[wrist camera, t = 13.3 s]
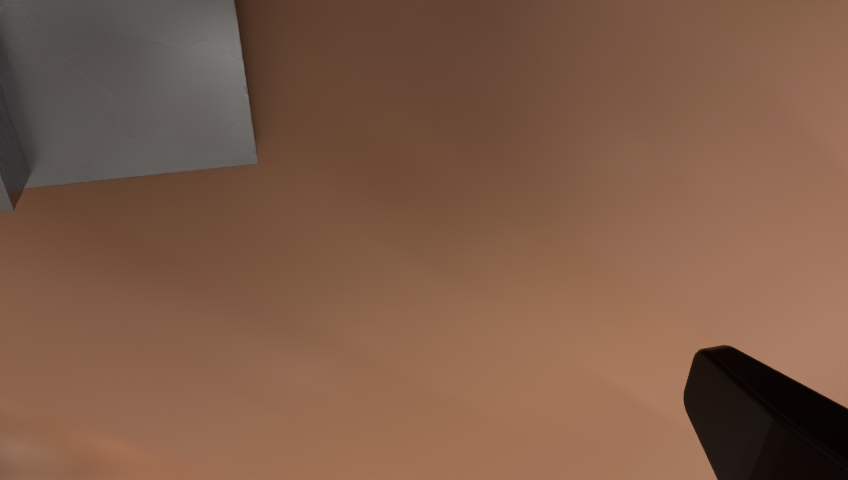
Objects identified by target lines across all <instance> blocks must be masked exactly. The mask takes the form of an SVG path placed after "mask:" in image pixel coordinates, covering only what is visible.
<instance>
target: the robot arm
mask: <svg viewBox="0 0 848 480" xmlns="http://www.w3.org/2000/svg"><path fill="white" fill-rule="evenodd" d="M684 406H685V409H686V412H687V414H688V416H689V419H690V421H691V423H692V425H693V427H694V429H695V432H696V434H697V436H698V438H699V440H700V443H701V445H702V447H703V449H704V451H705V453H706V456H707V458H708V460H709V462H710V464H711V466H712V469H713V471H714V473H715V475H716V477H717V479H718V480H848V408H846V407H844V406H842V405H840V404H838V403H836V402H834V401H833V400H831V399H829V398H827V397H825V396H823V395H821V394H820V393H818V392H816V391H814V390H812V389H810V388H808V387H806V386H805V385H803V384H801V383H799V382H797V381H795V380H793V379H792V378H790V377H788V376H786V375H784V374H782V373H780V372H778V371H777V370H775V369H773V368H771V367H769V366H767V365H765V364H764V363H762V362H760V361H758V360H756V359H754V358H752V357H750V356H749V355H747V354H745V353H743V352H741V351H739V350H737V349H736V348H733V347H731V346H727V345H722V346H716V347H710V348H704V349H701V350H699V351H698V352H697V353H696V354H695V355H694V358H693V361H692V365H691V368H690V372H689V376H688V379H687V383H686V386H685V390H684Z"/></svg>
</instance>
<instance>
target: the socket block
mask: <svg viewBox="0 0 848 480" xmlns="http://www.w3.org/2000/svg"><path fill="white" fill-rule="evenodd" d="M250 164H258V158H257V147H256V139H255V132H254V125H253V118H252V112H251V105H250V98H249V91H248V84H247V77H246V71H245V64H244V57H243V50H242V43H241V36H240V30H239V23H238V16H237V9H236V2H235V0H0V212H5V211H14V209H15V207H16V205H17V203H18V200H19V198H20V196H21V194H22V192H23V190H24V189H26V188H35V187H44V186H54V185H63V184H72V183H82V182H91V181H100V180H110V179H119V178H128V177H138V176H147V175H156V174H166V173H175V172H184V171H194V170H203V169H212V168H222V167H231V166H240V165H250Z"/></svg>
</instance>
